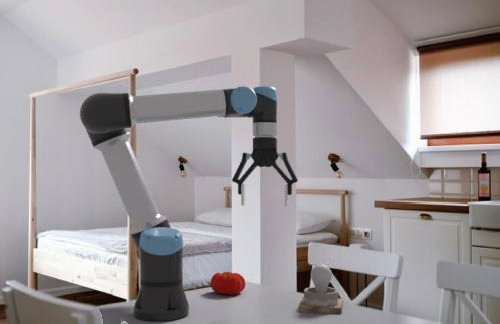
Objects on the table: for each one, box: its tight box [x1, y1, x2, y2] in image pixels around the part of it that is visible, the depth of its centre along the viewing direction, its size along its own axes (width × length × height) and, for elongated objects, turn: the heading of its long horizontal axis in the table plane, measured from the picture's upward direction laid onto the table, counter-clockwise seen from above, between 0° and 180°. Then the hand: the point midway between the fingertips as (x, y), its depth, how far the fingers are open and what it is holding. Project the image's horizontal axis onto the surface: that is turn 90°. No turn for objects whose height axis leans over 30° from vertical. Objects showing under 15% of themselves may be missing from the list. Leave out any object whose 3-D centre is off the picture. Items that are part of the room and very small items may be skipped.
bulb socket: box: [297, 286, 344, 314], centre depth 176 cm, size 12×12×5 cm
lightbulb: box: [310, 263, 333, 293], centre depth 176 cm, size 6×6×11 cm
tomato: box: [209, 271, 246, 296], centre depth 196 cm, size 10×11×7 cm
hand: (264, 205), depth 188 cm, fingers open, 13 cm apart
